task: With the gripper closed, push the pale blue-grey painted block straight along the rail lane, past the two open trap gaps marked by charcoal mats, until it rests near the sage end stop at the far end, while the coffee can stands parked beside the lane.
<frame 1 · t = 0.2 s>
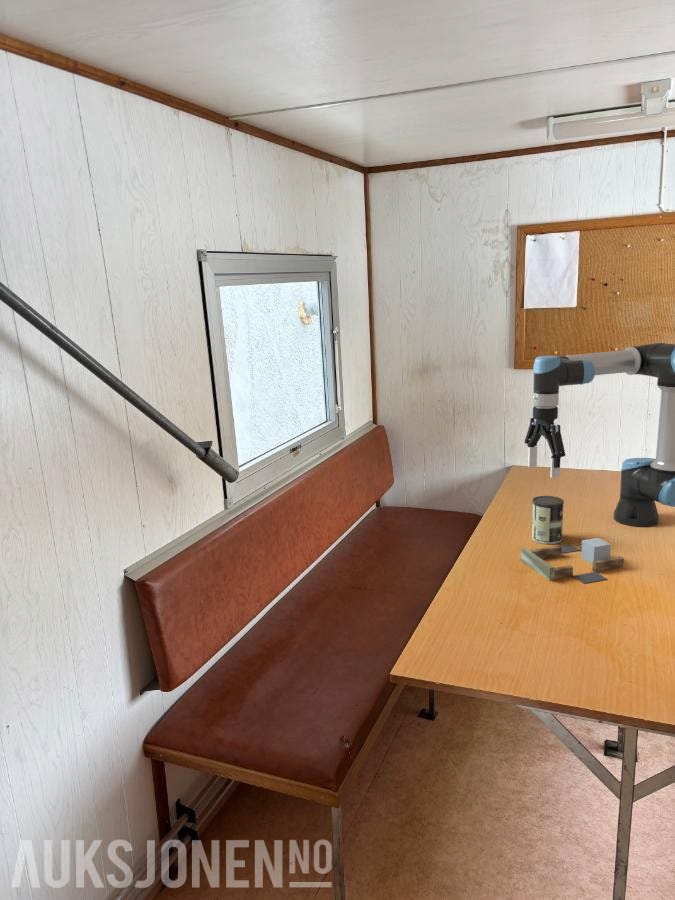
hand: (543, 471, 213), 28 cm above the table, fingers open, 13 cm apart
block: (595, 559, 212), on the table
coffee can: (546, 539, 231), on the table
lane: (570, 563, 210), on the table
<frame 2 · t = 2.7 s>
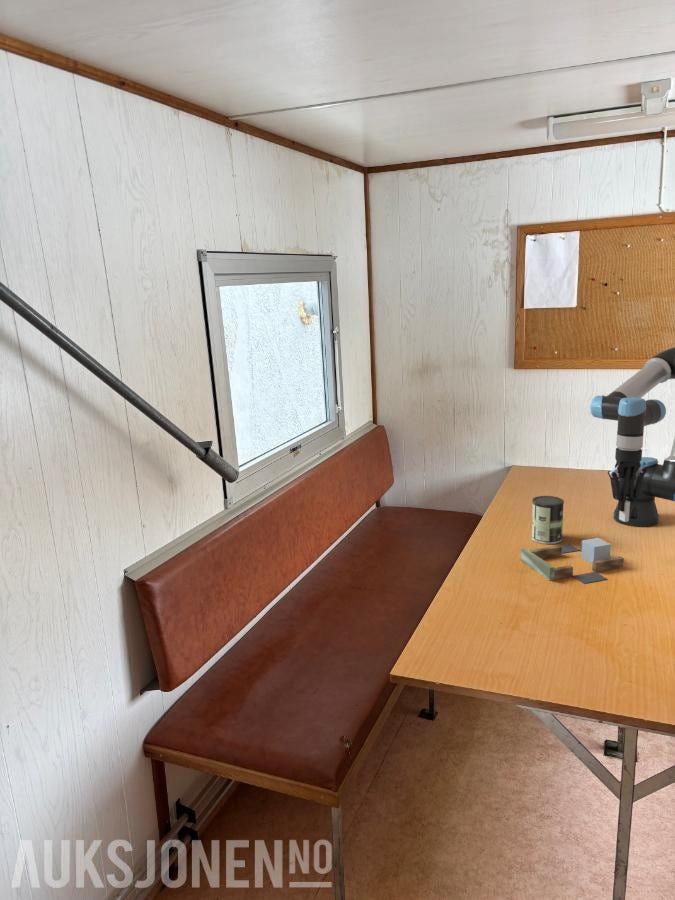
hand: (623, 520, 212), 12 cm above the table, fingers closed
nothing on the table moved.
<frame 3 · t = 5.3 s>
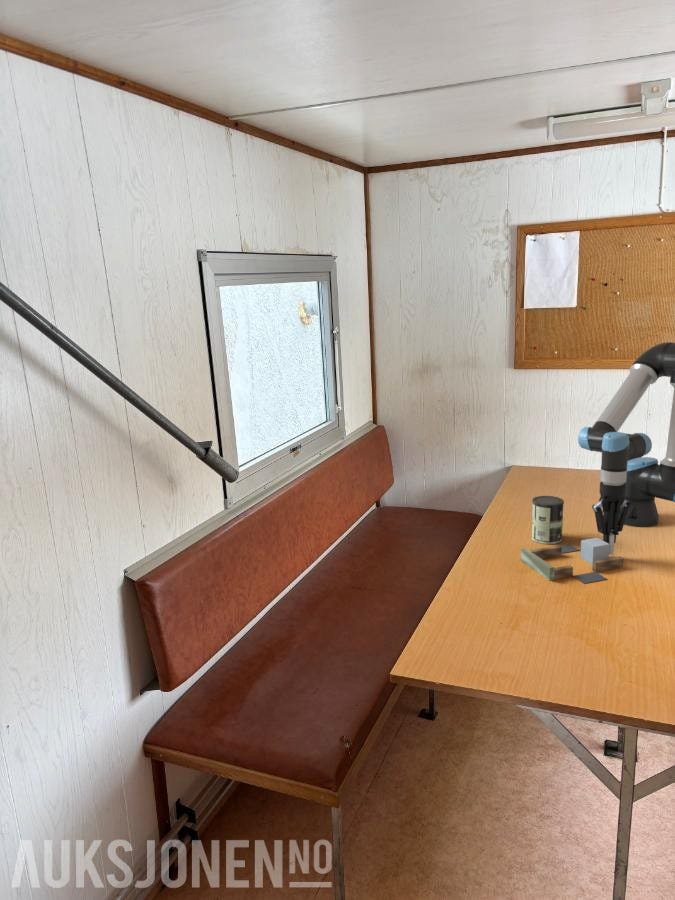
hand: (608, 552, 213), 2 cm above the table, fingers closed
block: (594, 559, 212), on the table, touching gripper
everything else where it was.
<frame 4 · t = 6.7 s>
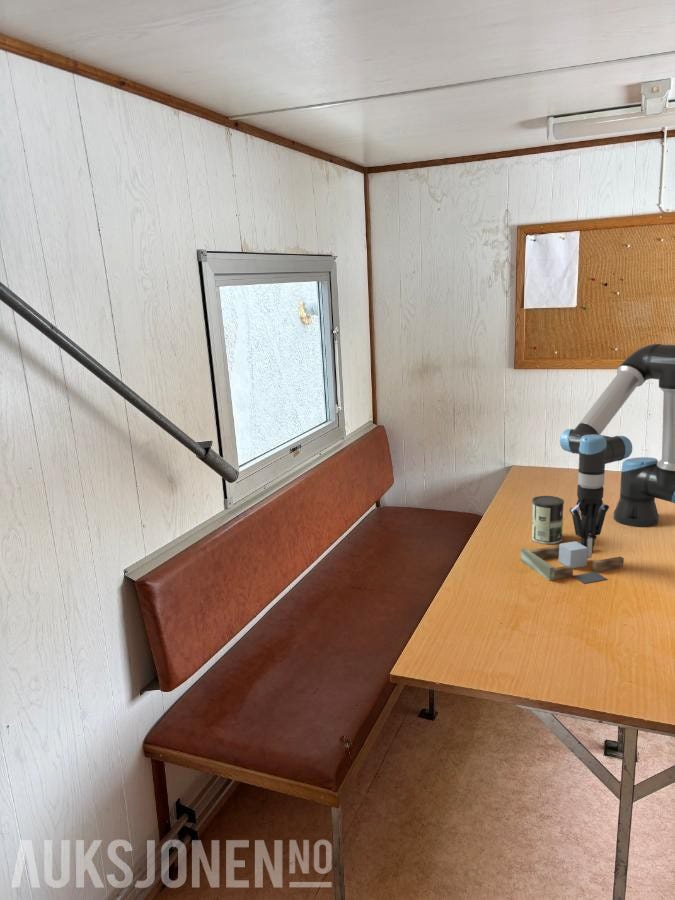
hand: (586, 556, 211), 2 cm above the table, fingers closed
block: (572, 563, 210), on the table, touching gripper
everything else where it was.
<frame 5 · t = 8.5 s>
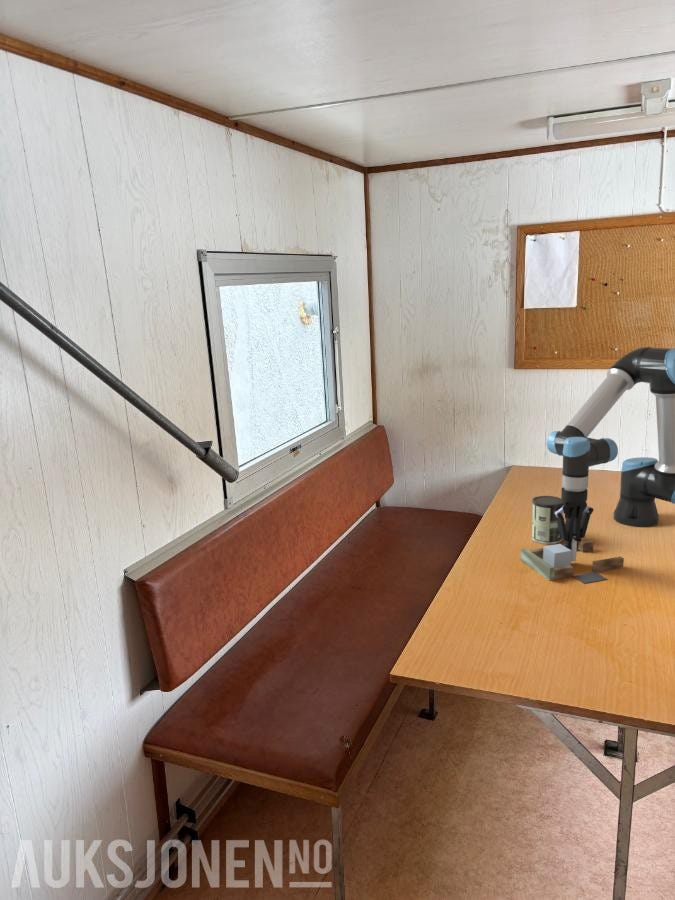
hand: (571, 559, 210), 1 cm above the table, fingers closed
block: (556, 566, 209), on the table, touching gripper
everything else where it was.
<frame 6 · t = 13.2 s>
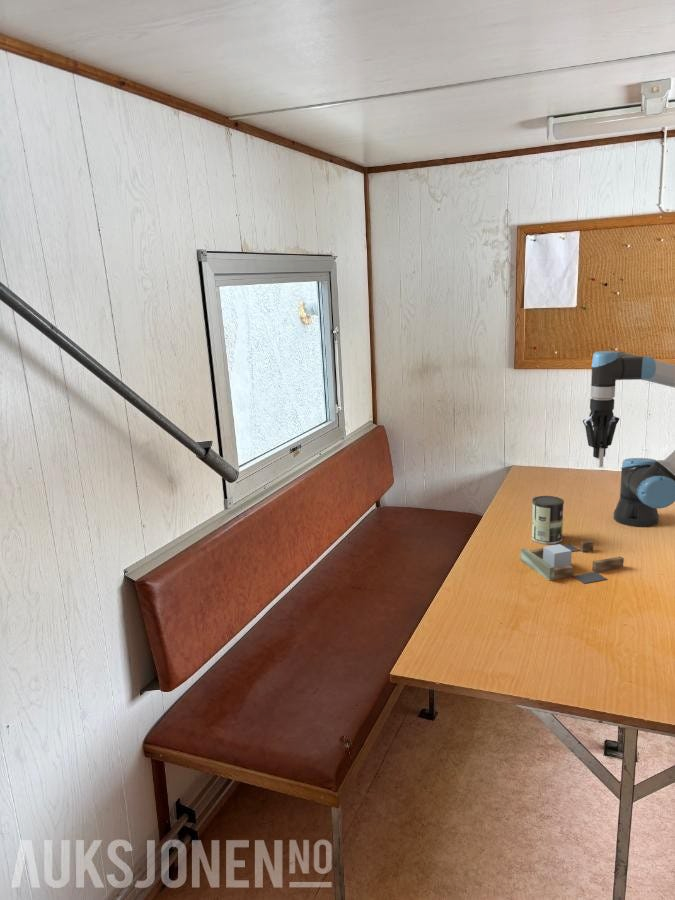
hand: (598, 466, 228), 24 cm above the table, fingers closed
block: (556, 566, 209), on the table
everything else where it was.
at the end: block inside the target area on the lane (0.8 cm from its centre), point 0.0 cm above the lane's base; block tilted 0° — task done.
